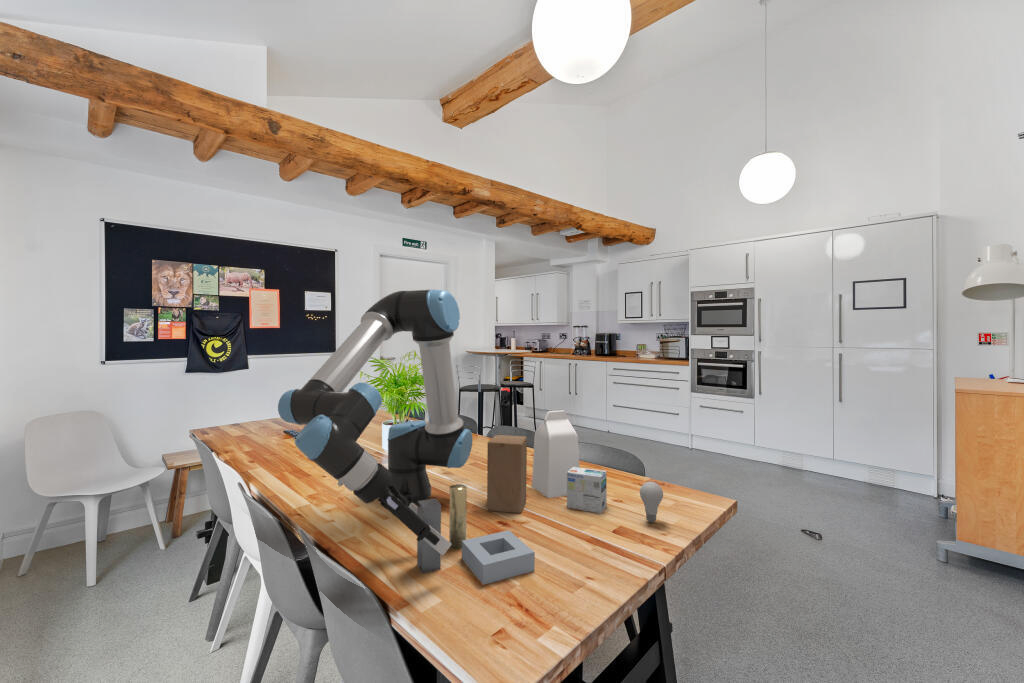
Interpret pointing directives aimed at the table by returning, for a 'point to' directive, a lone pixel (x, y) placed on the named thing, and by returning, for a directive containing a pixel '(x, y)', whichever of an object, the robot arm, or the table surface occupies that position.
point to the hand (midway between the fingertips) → (436, 536)
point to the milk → (554, 454)
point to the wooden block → (506, 473)
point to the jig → (497, 556)
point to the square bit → (425, 553)
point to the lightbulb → (651, 499)
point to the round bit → (457, 515)
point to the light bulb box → (586, 489)
